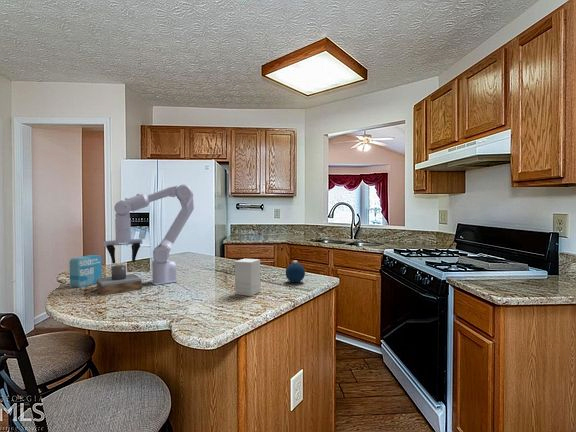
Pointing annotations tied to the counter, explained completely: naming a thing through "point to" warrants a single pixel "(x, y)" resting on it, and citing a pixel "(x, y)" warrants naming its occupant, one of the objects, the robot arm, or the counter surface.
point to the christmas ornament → (295, 272)
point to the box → (119, 287)
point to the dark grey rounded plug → (118, 272)
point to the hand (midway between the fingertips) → (123, 262)
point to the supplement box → (247, 277)
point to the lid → (109, 280)
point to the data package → (85, 270)
